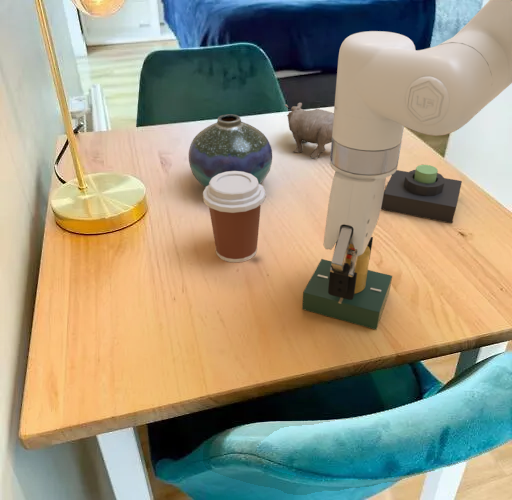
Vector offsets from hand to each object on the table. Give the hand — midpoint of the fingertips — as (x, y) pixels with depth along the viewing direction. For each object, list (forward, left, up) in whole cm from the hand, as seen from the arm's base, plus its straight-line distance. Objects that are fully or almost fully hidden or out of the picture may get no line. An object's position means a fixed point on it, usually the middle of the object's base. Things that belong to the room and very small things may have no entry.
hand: (349, 276), depth 67 cm
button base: (-5, -31, -4) cm, 32 cm away
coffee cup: (+19, -5, -4) cm, 20 cm away
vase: (+29, -24, -4) cm, 38 cm away
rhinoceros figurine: (+21, -46, -4) cm, 51 cm away
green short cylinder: (-5, -31, 0) cm, 31 cm away
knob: (0, 0, -1) cm, 1 cm away
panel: (0, 0, -4) cm, 4 cm away
